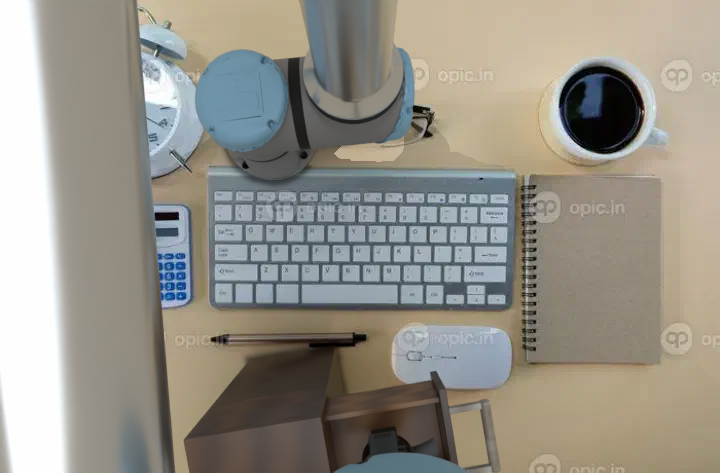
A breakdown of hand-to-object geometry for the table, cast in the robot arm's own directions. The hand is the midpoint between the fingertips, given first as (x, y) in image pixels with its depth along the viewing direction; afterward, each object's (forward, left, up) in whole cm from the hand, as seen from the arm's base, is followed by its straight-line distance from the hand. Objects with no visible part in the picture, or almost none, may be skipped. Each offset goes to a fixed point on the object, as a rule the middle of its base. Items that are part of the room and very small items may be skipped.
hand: (388, 460), depth 51 cm
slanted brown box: (+14, 0, -28) cm, 31 cm away
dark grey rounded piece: (0, 0, 0) cm, 0 cm away
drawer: (-3, 0, -7) cm, 7 cm away
